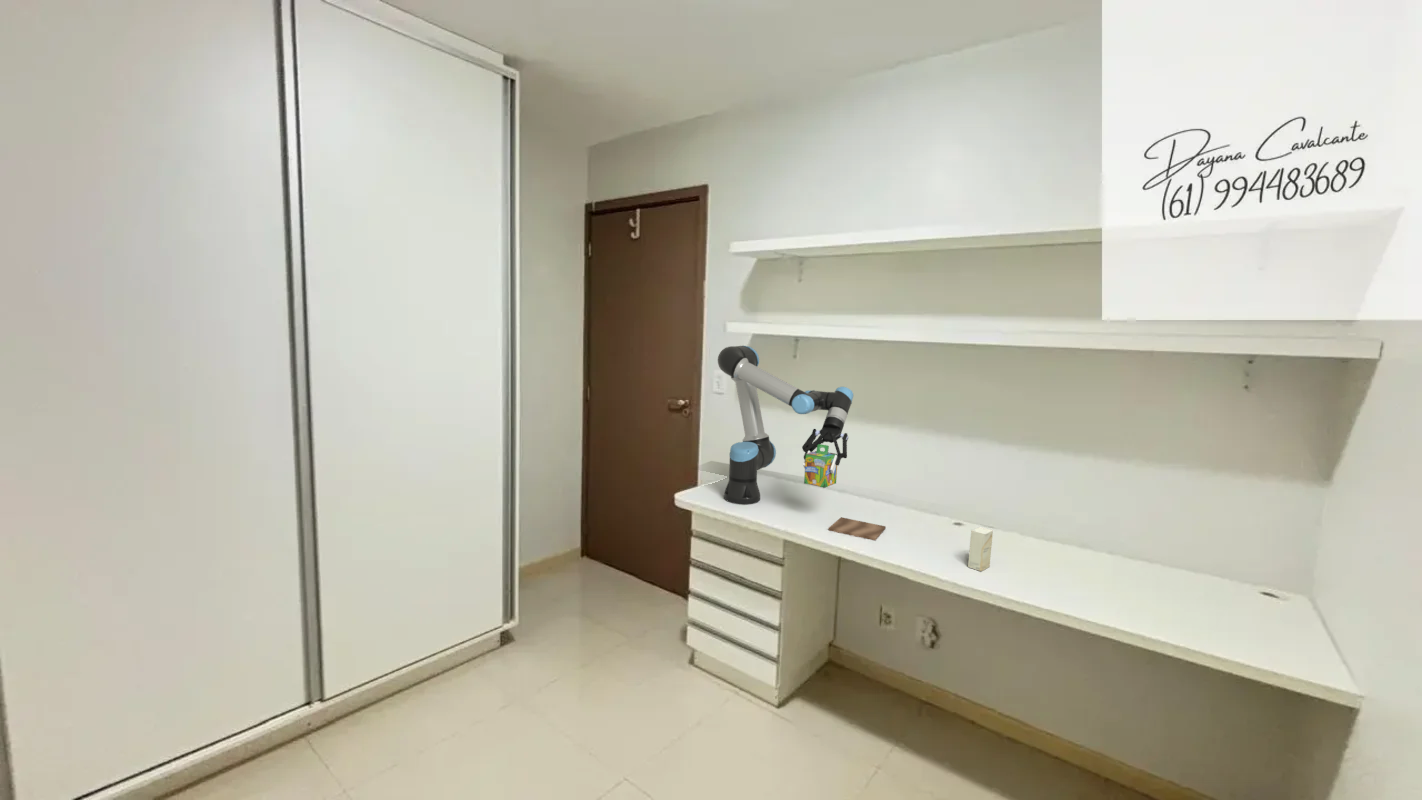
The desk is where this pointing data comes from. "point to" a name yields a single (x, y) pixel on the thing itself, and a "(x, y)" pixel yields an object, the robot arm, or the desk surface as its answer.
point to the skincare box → (980, 548)
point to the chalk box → (820, 468)
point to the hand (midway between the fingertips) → (818, 469)
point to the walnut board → (857, 528)
